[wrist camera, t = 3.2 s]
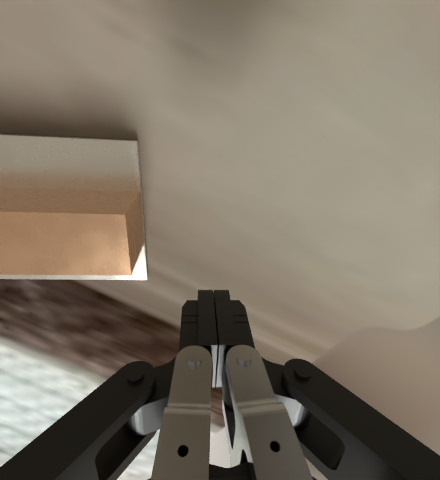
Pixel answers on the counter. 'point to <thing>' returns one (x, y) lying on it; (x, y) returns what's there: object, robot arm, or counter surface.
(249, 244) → the counter surface
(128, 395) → the robot arm
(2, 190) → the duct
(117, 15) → the counter surface
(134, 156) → the block stand
